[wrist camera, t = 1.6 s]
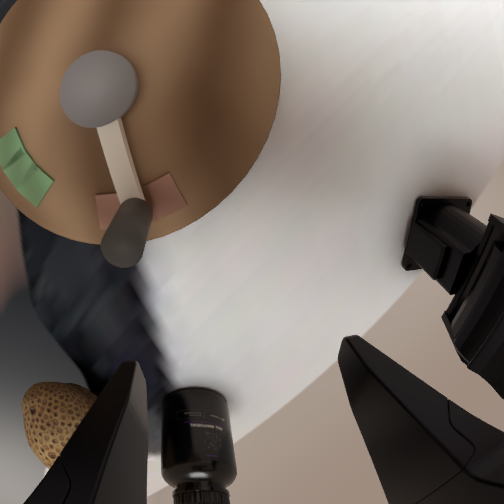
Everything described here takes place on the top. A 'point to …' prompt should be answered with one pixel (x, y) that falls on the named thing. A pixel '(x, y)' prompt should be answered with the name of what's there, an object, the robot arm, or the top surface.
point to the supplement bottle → (197, 447)
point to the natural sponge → (53, 416)
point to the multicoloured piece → (111, 143)
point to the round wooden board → (135, 107)
